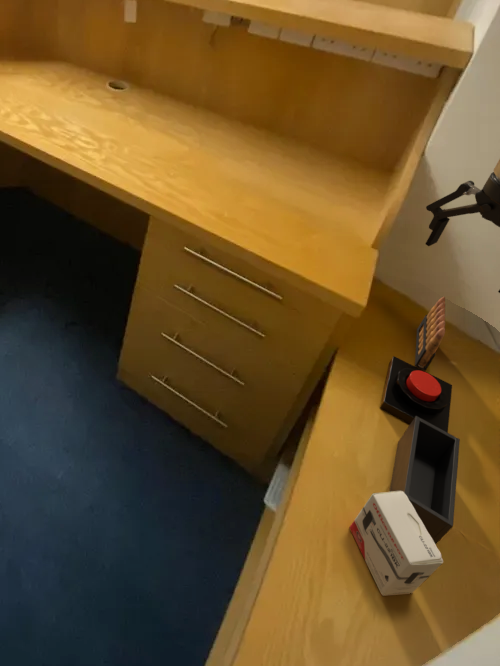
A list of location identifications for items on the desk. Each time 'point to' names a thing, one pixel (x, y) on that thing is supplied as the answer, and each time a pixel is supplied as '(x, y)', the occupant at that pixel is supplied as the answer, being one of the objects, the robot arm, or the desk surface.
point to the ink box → (395, 543)
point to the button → (423, 386)
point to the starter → (414, 397)
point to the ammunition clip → (430, 335)
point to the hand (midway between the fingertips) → (465, 265)
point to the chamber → (428, 474)
